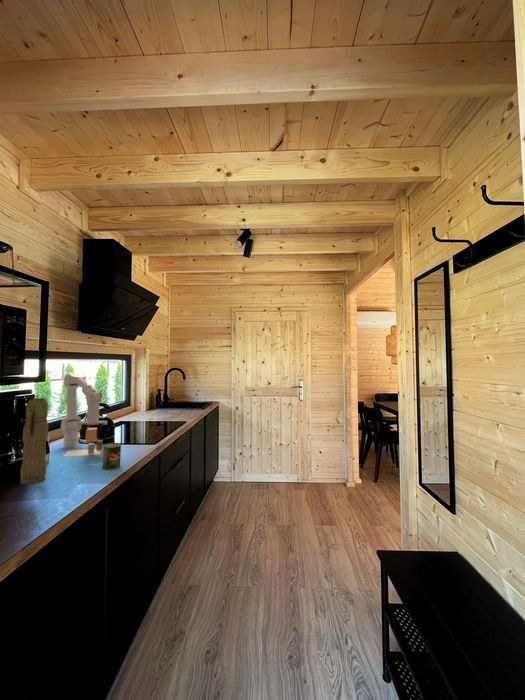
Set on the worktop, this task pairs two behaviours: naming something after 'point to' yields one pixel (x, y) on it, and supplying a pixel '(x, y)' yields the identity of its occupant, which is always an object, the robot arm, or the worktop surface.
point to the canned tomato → (111, 456)
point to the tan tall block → (34, 442)
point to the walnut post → (99, 445)
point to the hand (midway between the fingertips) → (91, 438)
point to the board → (81, 452)
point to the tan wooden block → (91, 435)
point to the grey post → (91, 448)
